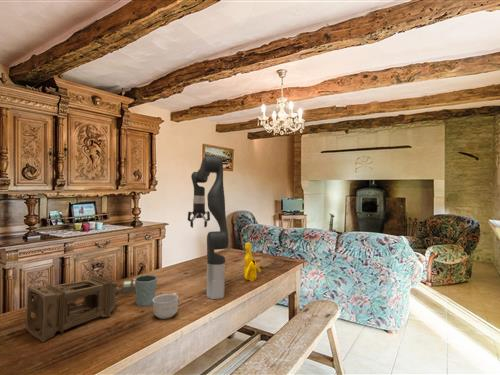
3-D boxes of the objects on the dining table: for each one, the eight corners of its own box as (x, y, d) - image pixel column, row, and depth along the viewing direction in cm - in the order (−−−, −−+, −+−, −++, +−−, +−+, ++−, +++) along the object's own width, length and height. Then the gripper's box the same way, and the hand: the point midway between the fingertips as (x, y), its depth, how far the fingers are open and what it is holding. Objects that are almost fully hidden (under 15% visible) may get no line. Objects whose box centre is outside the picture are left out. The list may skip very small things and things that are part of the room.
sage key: (130, 288, 157) (130, 283, 157) (123, 288, 156) (123, 284, 156) (130, 285, 161) (130, 281, 161) (124, 286, 160) (124, 281, 160)
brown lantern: (112, 307, 144) (110, 268, 146) (133, 312, 134) (131, 270, 136) (25, 334, 116) (25, 286, 117) (44, 343, 106) (43, 290, 107)
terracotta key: (139, 287, 159) (139, 283, 159) (133, 288, 157) (133, 283, 157) (139, 284, 163) (139, 280, 163) (133, 285, 162) (133, 280, 162)
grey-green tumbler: (150, 297, 151) (151, 273, 151) (160, 303, 144) (161, 278, 144) (130, 302, 144) (131, 277, 144) (140, 309, 137) (140, 283, 137)
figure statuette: (247, 284, 173) (248, 246, 172) (236, 281, 177) (237, 244, 177) (263, 276, 188) (264, 241, 187) (252, 274, 192) (253, 240, 192)
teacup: (164, 323, 123) (164, 304, 123) (146, 317, 129) (147, 298, 129) (188, 311, 135) (188, 294, 135) (171, 306, 141) (171, 289, 141)
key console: (150, 290, 160) (150, 282, 160) (121, 293, 155) (122, 285, 155) (149, 283, 171) (149, 275, 171) (123, 285, 166) (123, 278, 166)
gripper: (189, 203, 189) (188, 228, 189) (211, 202, 194) (210, 227, 194) (187, 202, 196) (186, 227, 196) (208, 202, 201) (208, 226, 201)
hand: (198, 227), depth 195 cm, fingers open, 8 cm apart
